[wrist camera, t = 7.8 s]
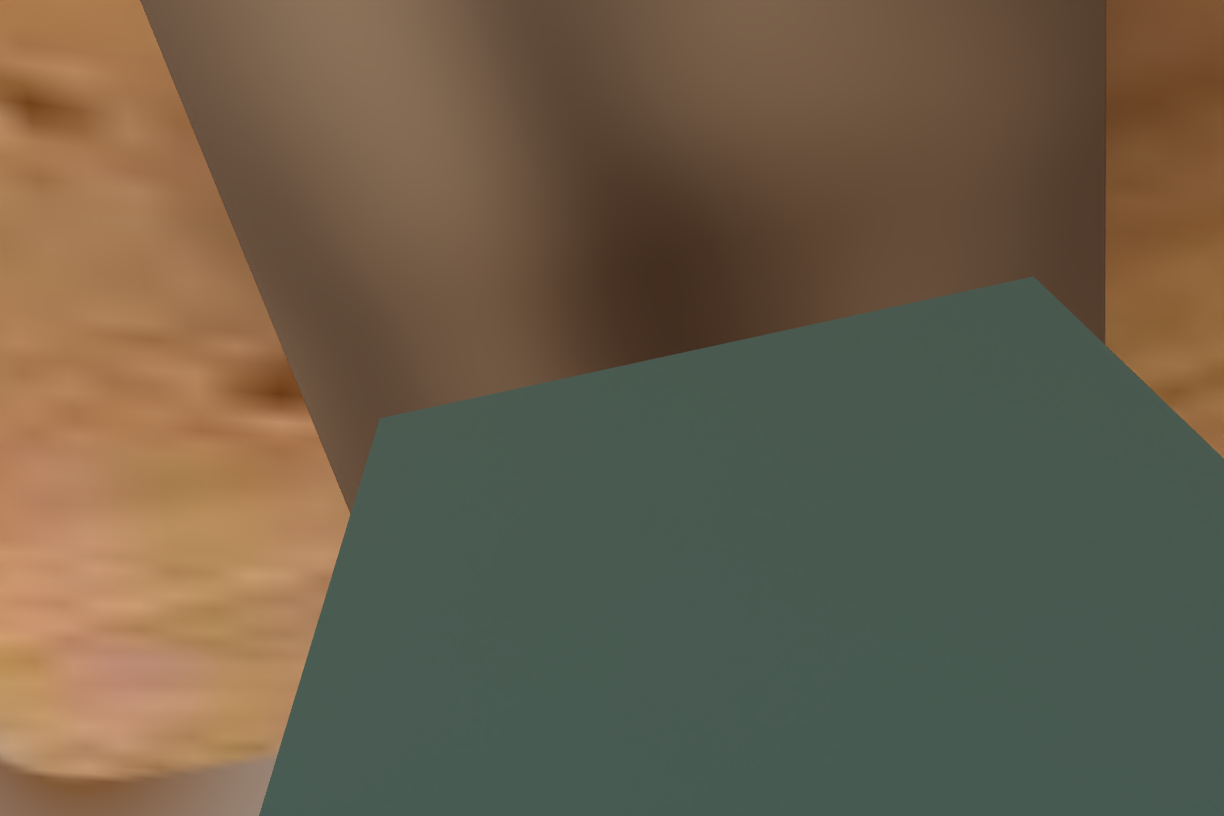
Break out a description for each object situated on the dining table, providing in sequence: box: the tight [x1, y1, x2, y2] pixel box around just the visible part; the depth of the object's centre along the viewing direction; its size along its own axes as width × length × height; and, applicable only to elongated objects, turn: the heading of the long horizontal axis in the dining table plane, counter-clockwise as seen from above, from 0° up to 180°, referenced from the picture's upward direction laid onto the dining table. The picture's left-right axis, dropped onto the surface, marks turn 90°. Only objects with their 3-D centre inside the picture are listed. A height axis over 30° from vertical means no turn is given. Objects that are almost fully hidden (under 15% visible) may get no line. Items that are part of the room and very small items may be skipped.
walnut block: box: [140, 0, 1106, 514], centre depth 20 cm, size 14×14×5 cm
